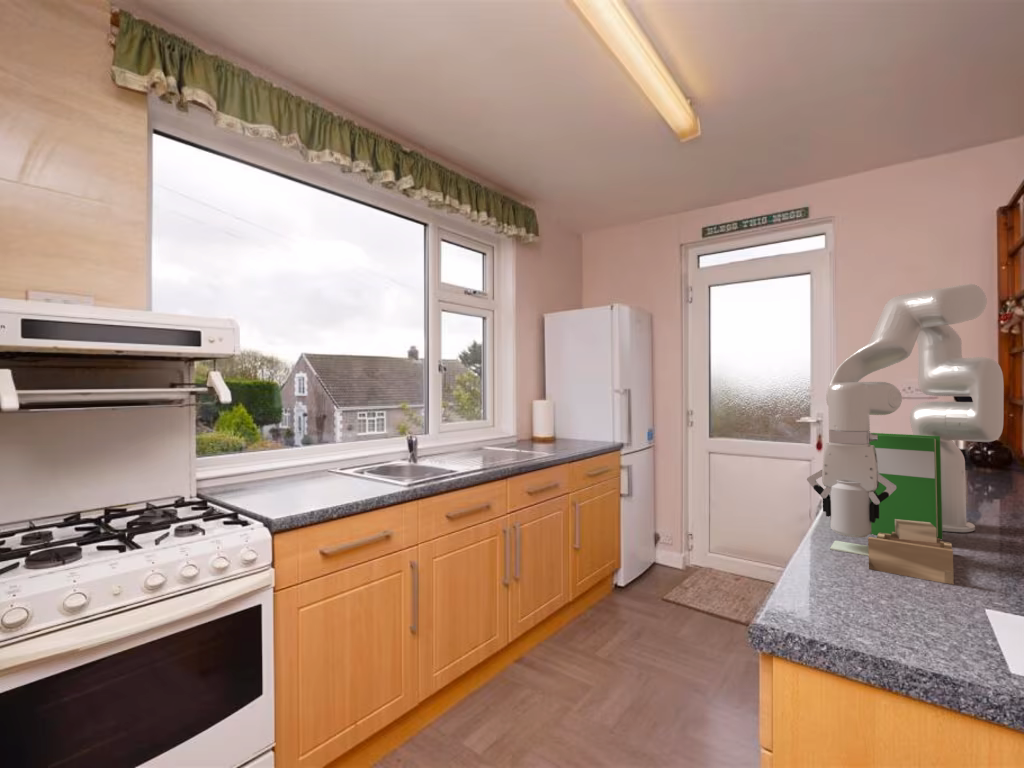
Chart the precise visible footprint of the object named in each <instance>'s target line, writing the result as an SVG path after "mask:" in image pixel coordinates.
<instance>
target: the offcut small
mask: <svg viewBox="0 0 1024 768" xmlns="http://www.w3.org/2000/svg"><path fill="white" fill-rule="evenodd" d="M895 534H896V535H897V536H898V538H899V539H904V540H913V541H922V542H931V543H937V539H936V528H935V527H934V526H933V525H932V524H931V523H930V522H920V521H909V520H899V519H895Z"/></svg>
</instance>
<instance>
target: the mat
mask: <svg viewBox="0 0 1024 768" xmlns="http://www.w3.org/2000/svg"><path fill="white" fill-rule="evenodd" d="M829 550H831V551H836V552H837V551H838V552H843V553H849V554H854V555H861V556H868V557H869V553H868V545H866V544H865V545H864V544H858V543H853V542H848V541H847V542H846V541H840V540H834V541H833V543H832V544H831V546H830V547H829Z"/></svg>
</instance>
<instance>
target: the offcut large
mask: <svg viewBox="0 0 1024 768" xmlns="http://www.w3.org/2000/svg"><path fill="white" fill-rule="evenodd" d="M936 539H937V543H931V542H922V541H913V540H904V539H899V538H898V536H897V535H896V534H895V532H892V534H891V537H890V540H893V541H900V542H906V543H913V544H919V545H926V546H933V547H939V548H940V541H941V540H940V538H936Z"/></svg>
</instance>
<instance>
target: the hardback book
mask: <svg viewBox="0 0 1024 768" xmlns="http://www.w3.org/2000/svg"><path fill="white" fill-rule="evenodd" d="M871 433H872V434H878V441H877V440H874V441H872V442H870V445H874V446H875V450H876V455H877V461H878V473H879V474H880V475H882V476H883V477H885V478H886V479H887V480H889V481H890V482H892V483H893V484H895V485H896V486H897V488H896V490H895V491H894V492H893V493H892V494H891V495H890V496H889V497H888V498H886V499H885V500H883V501H882V502H881V503H879V519H877V518H876V521H875V523H872V522H871V533H870V534H869V535H872V534H873V536H878V533H886V534H892V532H895V519H899V520H909V521H920V522H930V523H931V524H932V525H933V526H934V527H935V528H936V538H940V539H942V540H944V539H943V538H944V537H943V531H942V491H941V448H940V436H928V435H913V434H907V433H906V434H905V433H883V432H882V433H879V432H871ZM885 490H886V486H884V485H883V484H881V483H880V482H879V486H878V488H877V489H876V490H875V491H876V493H877V494H878V495H879V494H881V493H882V492H884V491H885ZM871 501H872V500H871Z"/></svg>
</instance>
